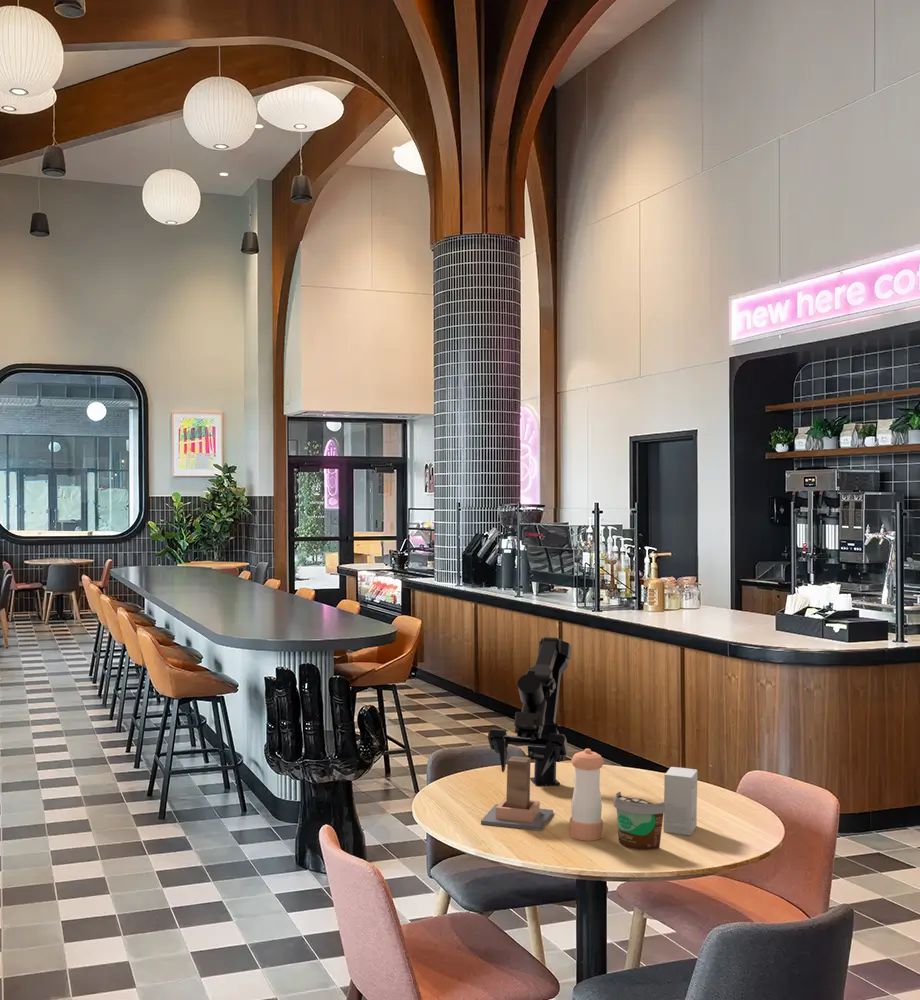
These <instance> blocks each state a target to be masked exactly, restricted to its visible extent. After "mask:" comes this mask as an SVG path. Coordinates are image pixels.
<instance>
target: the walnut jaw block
mask: <svg viewBox="0 0 920 1000" xmlns="http://www.w3.org/2000/svg"><path fill="white" fill-rule="evenodd" d="M531 760H532V759H531V758H528V756H527V757H525V756H517V755H516V756H515V755H512V756H510V757H509V759H508V758H507V760H506V770H507V771H506V798H507V802H506V807H508V808H518V809H528V810H529V809H530V800H531V796H530V795H531V780H530V778H531Z"/></svg>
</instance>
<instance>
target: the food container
mask: <svg viewBox="0 0 920 1000" xmlns="http://www.w3.org/2000/svg"><path fill="white" fill-rule="evenodd" d="M613 807H614V808H615V809H616V822H617V823H616V824H617V835H618V844H620V846H622V847H624V848H627V849H631V850H632V849H633V850H637V851H638V850H639V851H651V850H658V849H660V846H661V837H662V836H661V835H662V831H663V830H662V829H663V822H664V813H665V812H666V807H665V805H664V801H663V802H659V803H652V802H649V801H647V800H645V799H642V798H633V797H628V796H622V793H621V791H618V792H616V794H615V796H614V799H613Z"/></svg>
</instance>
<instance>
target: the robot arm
mask: <svg viewBox="0 0 920 1000" xmlns="http://www.w3.org/2000/svg"><path fill="white" fill-rule="evenodd" d="M572 653H573V651H572V646H571V644H570V643H569V642H568V641H564V640H562V639H561V638H558V637H551V636H548V637H547V636H544V637H541V639H540V640H539V641H538V649H537V657H536V661H535V664H534V665H533V666H532V667H529V668H528V670H527V671H526V673H525V674H524V675H521V677H520V678H519V679H518V680H517V688H518V693H519V697H520V701H521V703H522V708H521V711H516V712H515V714H514V715H515V716H514V721H513V722H514V723H513V726H514V727H515V728H514V732H515V733H516V735H510V734H509V735H508V734H507V731H506V729H504V728H493V727H492V728H491V729H490V730H489V731H488V734H487V740H488V743H489V746H490V749H491V750H493V751H494V752H495V753H496V754H499V759H500V768H501V772H502V773H505V770H506V768H507V760H508V747H509V745H518V746H525V747H527V758H531V760H534V767H533V768H534V769H533V771H534V772H533V773H534V775H533V777H532V776H530V782H532V783H533V784H534V785H535V786H559V785H561V782H560V781H559V780H558V779H557V763H561V762H563V761H564V760H565V757H566V756H567V754H568V741H567V736H566V735H565V734H564V733H559V730H558V728H557V726H556V721H557V713H558V702H559V696H560V685H561V680H562V679H561V678H562V674H563V673H564V672H565V671H566V670H567V668H568V666H569V660H571V659H572Z"/></svg>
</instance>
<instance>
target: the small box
mask: <svg viewBox="0 0 920 1000" xmlns="http://www.w3.org/2000/svg"><path fill="white" fill-rule="evenodd" d="M663 780H664V784H663V785H664V789H663V790H664V791H663V792H664V794H663V796H664V797H663V799H664V800H663V802H664V805H665V807H666V812H665V813H663V832H664V833H670V834H677V835H683V836H692V834H693V833H694V832H695V829H696V827H697V824H698V823H697V822H698V821H697V815H698V814H697V812H698V810H697V809H698V807H697V806H698V769H696V768H695V769H694V768H687V767H679V766H678V767H677V766H670V767H669V769H668V770H667V771H666V772H665V774H664V779H663Z"/></svg>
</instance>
